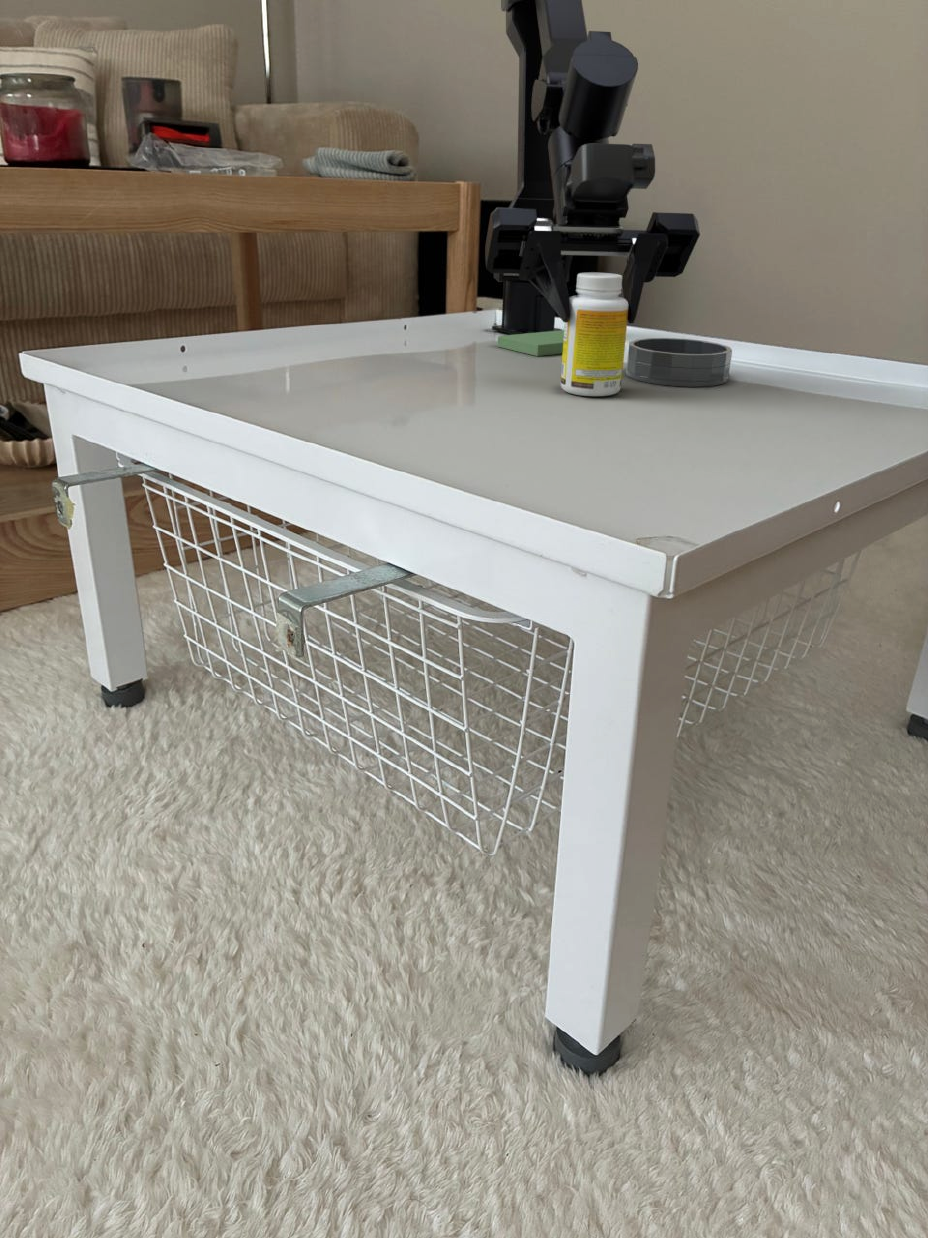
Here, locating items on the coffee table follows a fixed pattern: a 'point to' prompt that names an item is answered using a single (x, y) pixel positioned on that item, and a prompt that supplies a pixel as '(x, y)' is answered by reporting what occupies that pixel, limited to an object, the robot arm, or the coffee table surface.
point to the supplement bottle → (595, 336)
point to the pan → (678, 362)
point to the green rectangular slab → (534, 343)
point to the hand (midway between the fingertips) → (599, 319)
